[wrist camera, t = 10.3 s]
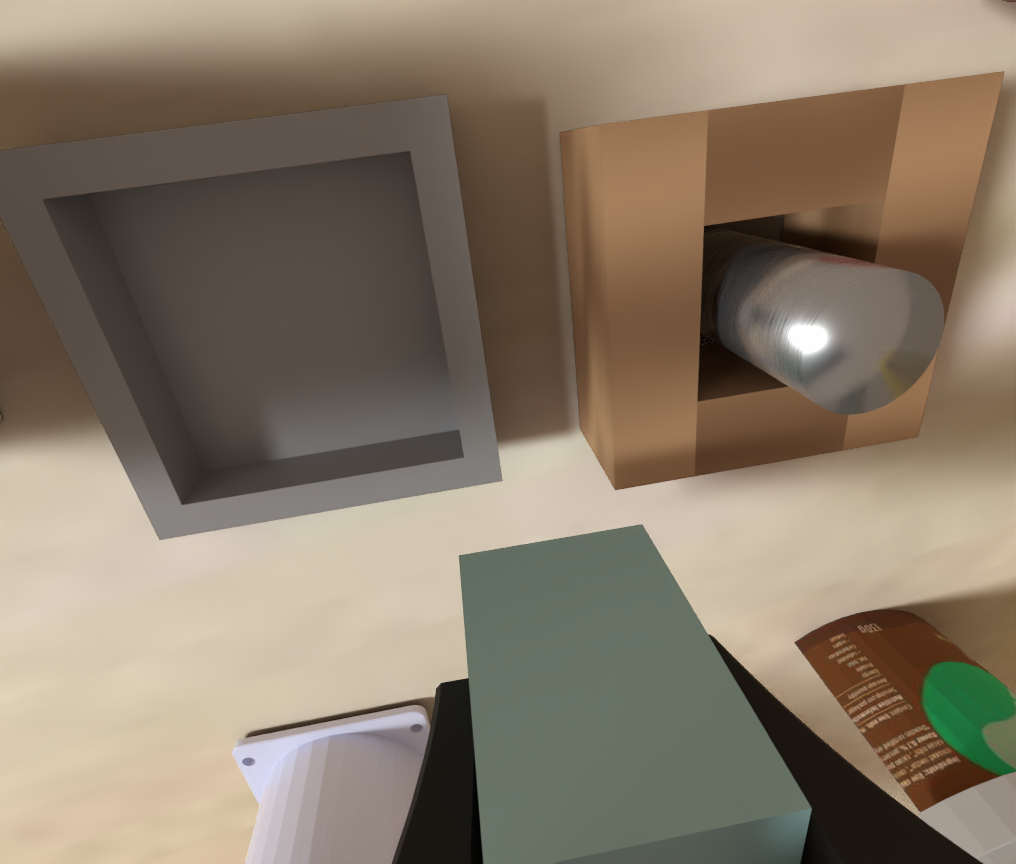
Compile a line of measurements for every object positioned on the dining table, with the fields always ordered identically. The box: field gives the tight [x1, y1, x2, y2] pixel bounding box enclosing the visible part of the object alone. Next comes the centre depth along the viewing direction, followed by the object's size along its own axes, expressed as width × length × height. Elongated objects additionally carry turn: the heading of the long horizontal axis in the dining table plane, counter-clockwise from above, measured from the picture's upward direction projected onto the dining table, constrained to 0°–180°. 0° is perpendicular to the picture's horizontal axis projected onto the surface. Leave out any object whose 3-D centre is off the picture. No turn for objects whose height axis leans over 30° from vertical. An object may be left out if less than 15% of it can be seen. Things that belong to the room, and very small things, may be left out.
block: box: [459, 525, 812, 864], centre depth 10 cm, size 4×4×6 cm
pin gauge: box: [700, 229, 944, 415], centre depth 14 cm, size 3×3×7 cm
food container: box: [795, 610, 1016, 864], centre depth 22 cm, size 12×6×10 cm, turn 44°
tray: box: [0, 94, 502, 540], centre depth 15 cm, size 10×10×2 cm
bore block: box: [560, 71, 1005, 490], centre depth 16 cm, size 9×9×4 cm
